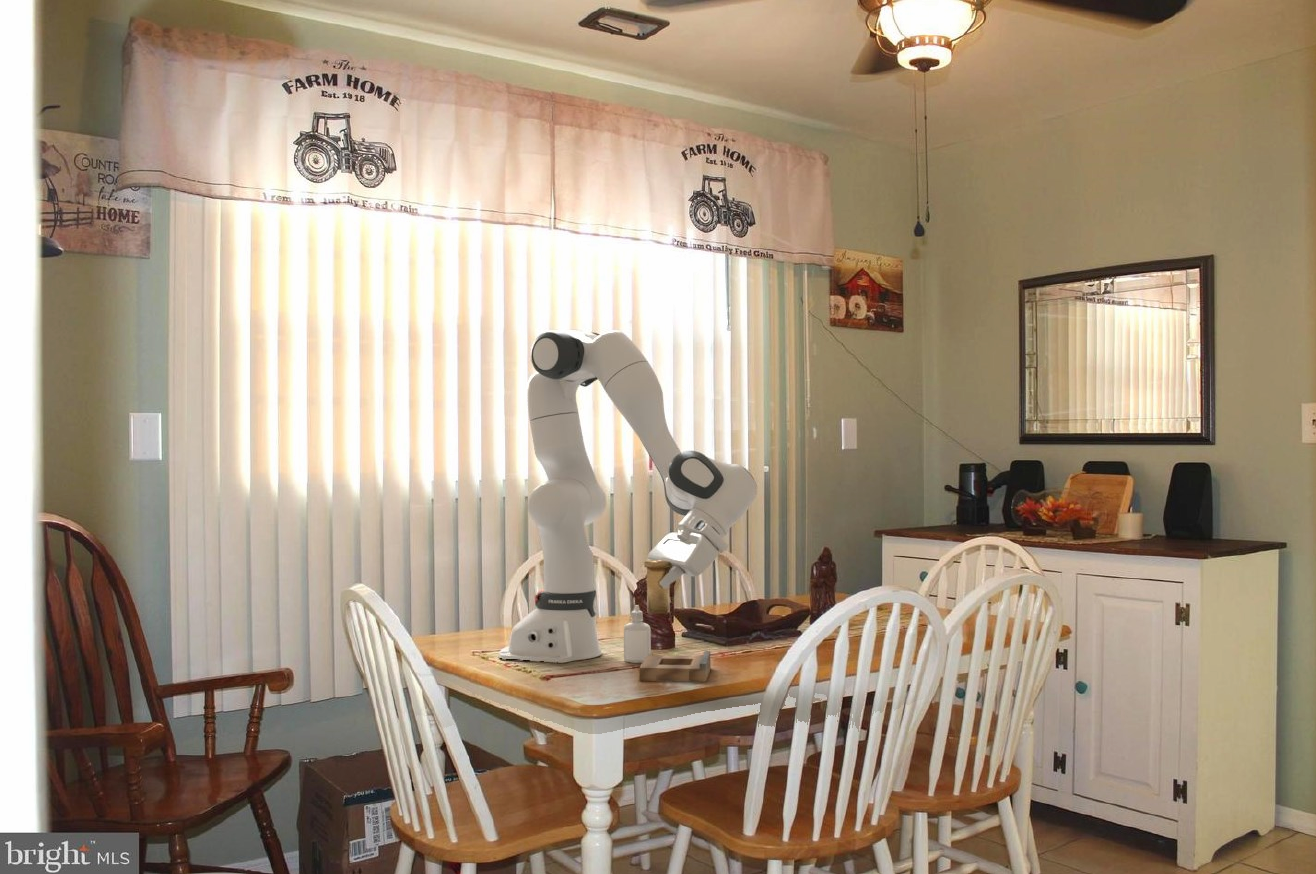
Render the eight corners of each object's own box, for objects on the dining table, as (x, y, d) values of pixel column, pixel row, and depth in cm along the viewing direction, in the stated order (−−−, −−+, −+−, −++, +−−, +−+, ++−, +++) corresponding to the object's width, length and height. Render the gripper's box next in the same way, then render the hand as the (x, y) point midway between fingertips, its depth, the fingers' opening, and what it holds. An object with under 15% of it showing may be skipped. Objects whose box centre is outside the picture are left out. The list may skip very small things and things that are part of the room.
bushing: (642, 614, 201) (642, 562, 202) (646, 610, 207) (646, 560, 207) (670, 614, 201) (669, 562, 201) (673, 610, 206) (673, 560, 206)
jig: (639, 680, 202) (639, 662, 202) (648, 667, 215) (647, 650, 215) (705, 681, 200) (705, 663, 200) (710, 668, 213) (710, 651, 213)
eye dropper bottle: (639, 665, 217) (639, 607, 217) (620, 661, 221) (620, 605, 221) (654, 661, 220) (653, 605, 220) (635, 658, 224) (634, 603, 224)
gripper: (668, 519, 216) (625, 569, 212) (711, 525, 198) (665, 579, 193) (687, 540, 218) (645, 589, 214) (732, 547, 199) (687, 601, 195)
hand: (655, 584), depth 204 cm, fingers closed on bushing, 4 cm apart
